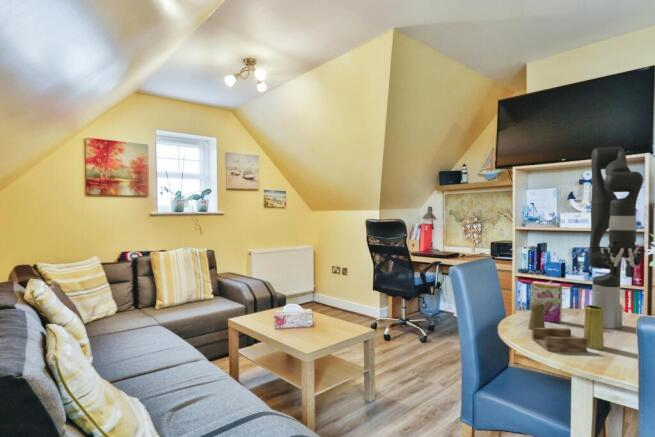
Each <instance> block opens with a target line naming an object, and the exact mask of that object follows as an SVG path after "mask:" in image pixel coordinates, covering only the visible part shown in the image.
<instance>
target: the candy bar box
mask: <svg viewBox="0 0 655 437" xmlns="http://www.w3.org/2000/svg"><path fill="white" fill-rule="evenodd" d="M562 300H563V285H562V284H559V283H550V282H541V281H533V282H532V283H531V302H530V304H531V303H532V302H539V303H542V304H543V305H544V311H543V317H544V322H546V323H547V322H549V323H553V324H560V323H561V322H562V309H563V308H562V306H563V305H562V304H563V303H562Z"/></svg>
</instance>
